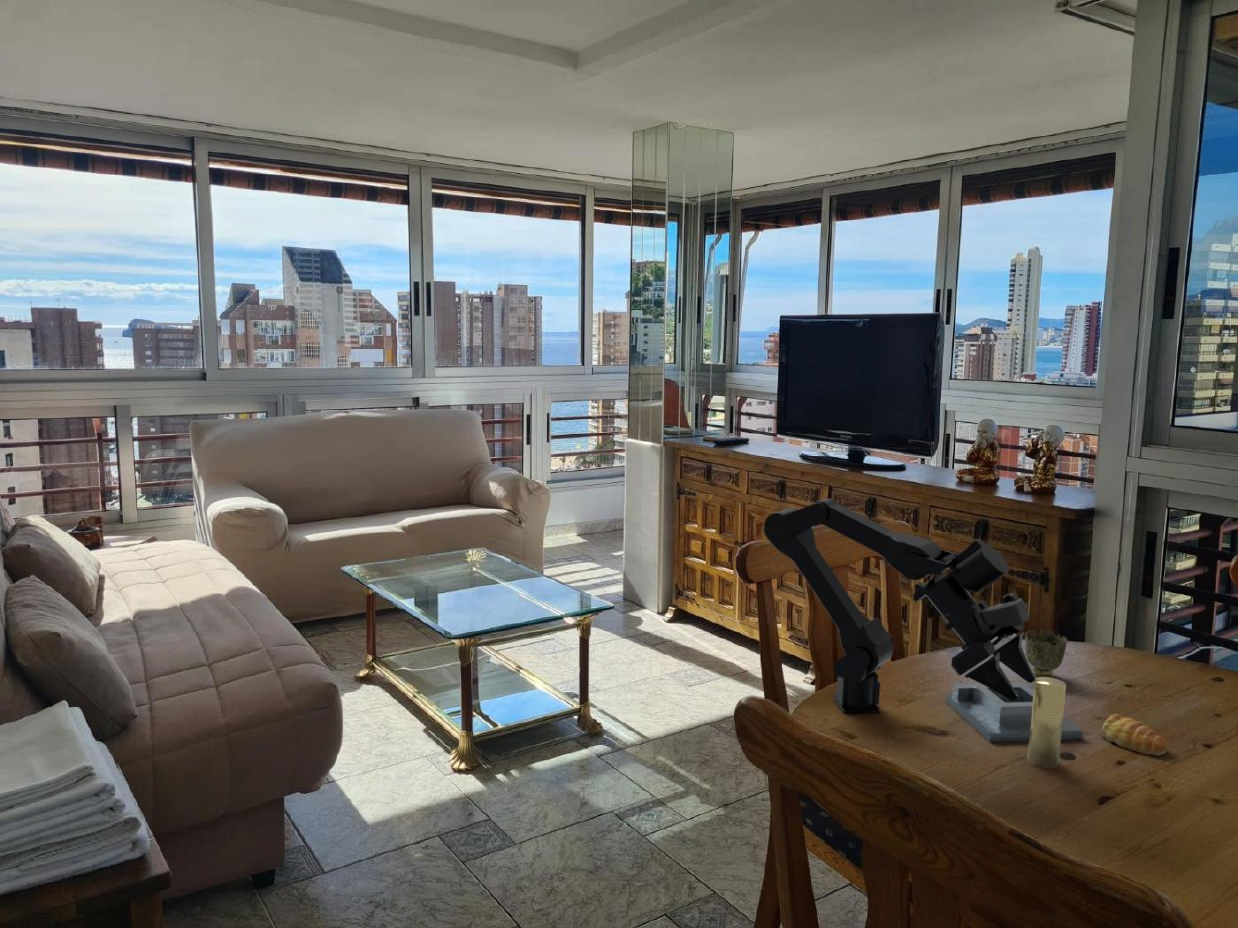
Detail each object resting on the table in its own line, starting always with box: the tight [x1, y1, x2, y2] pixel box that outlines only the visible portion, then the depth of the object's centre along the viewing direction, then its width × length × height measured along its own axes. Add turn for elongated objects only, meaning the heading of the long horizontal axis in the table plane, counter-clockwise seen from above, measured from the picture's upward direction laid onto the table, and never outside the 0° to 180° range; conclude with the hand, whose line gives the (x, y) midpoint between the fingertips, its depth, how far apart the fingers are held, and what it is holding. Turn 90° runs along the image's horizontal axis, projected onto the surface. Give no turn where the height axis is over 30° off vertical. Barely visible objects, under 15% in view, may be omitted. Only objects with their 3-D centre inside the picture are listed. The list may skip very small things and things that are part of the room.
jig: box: [944, 681, 1084, 743], centre depth 156 cm, size 16×16×4 cm
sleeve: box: [1026, 676, 1067, 770], centre depth 140 cm, size 4×4×13 cm
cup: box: [1024, 629, 1068, 678], centre depth 176 cm, size 8×7×8 cm
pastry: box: [1101, 713, 1170, 757], centre depth 148 cm, size 9×7×4 cm
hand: (1024, 690), depth 142 cm, fingers open, 9 cm apart
